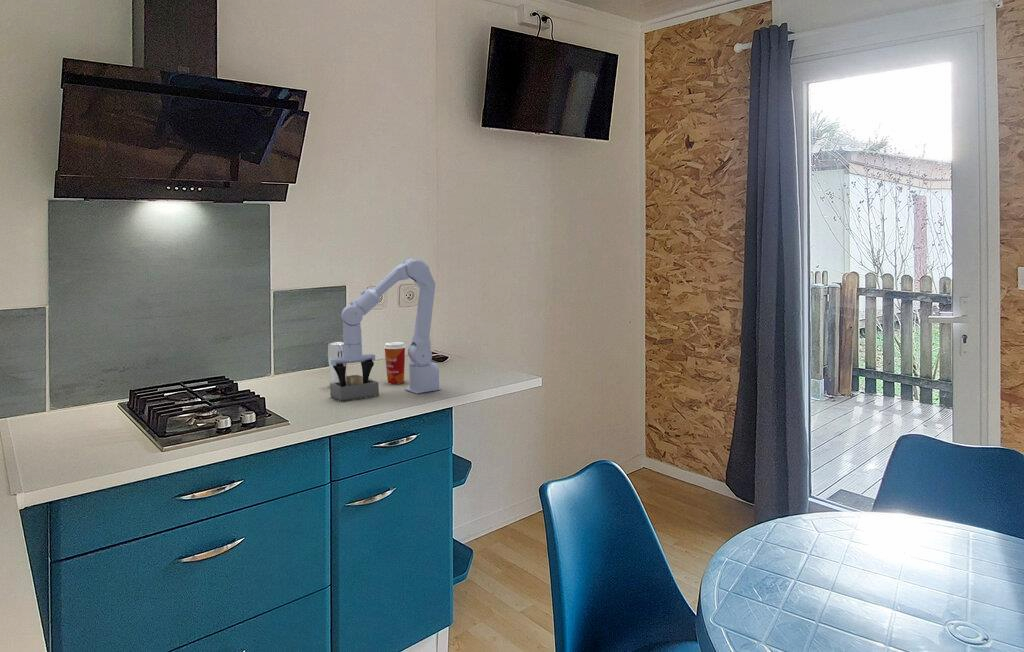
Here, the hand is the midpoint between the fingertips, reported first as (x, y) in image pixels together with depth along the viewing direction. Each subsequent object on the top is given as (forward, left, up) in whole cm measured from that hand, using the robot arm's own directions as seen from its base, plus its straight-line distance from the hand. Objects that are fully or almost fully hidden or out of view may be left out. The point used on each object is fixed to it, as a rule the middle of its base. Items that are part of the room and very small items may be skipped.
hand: (354, 384), depth 222 cm
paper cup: (-20, -10, -4) cm, 23 cm away
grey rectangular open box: (0, 0, -4) cm, 4 cm away
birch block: (0, 0, -3) cm, 3 cm away
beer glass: (-2, -17, -4) cm, 18 cm away
